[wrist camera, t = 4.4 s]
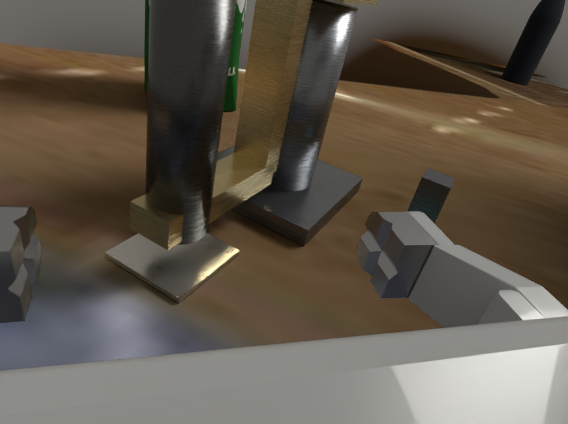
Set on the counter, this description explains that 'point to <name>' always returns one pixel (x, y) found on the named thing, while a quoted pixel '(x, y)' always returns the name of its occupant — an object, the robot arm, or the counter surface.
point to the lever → (213, 111)
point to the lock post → (282, 172)
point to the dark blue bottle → (534, 41)
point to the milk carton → (233, 61)
